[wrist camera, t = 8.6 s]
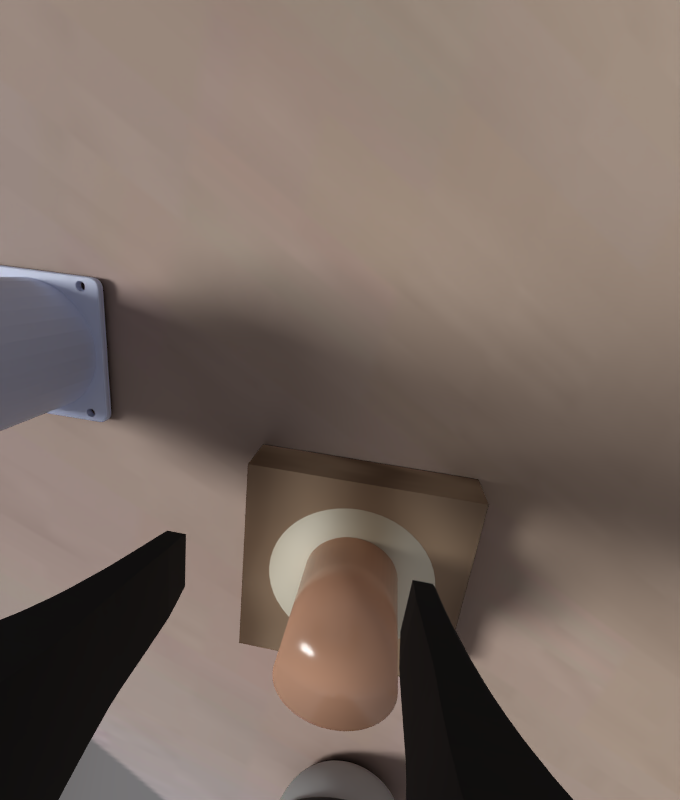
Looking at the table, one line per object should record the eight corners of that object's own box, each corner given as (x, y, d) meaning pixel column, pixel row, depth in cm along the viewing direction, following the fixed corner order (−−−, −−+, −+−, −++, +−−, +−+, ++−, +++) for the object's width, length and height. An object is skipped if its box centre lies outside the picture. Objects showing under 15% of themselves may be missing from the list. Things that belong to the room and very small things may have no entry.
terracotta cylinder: (303, 606, 23) (271, 717, 17) (307, 530, 21) (273, 626, 15) (392, 621, 22) (390, 741, 16) (403, 545, 20) (405, 649, 15)
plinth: (253, 609, 26) (238, 643, 24) (263, 444, 23) (247, 464, 20) (436, 646, 25) (440, 685, 23) (478, 479, 22) (488, 505, 19)
